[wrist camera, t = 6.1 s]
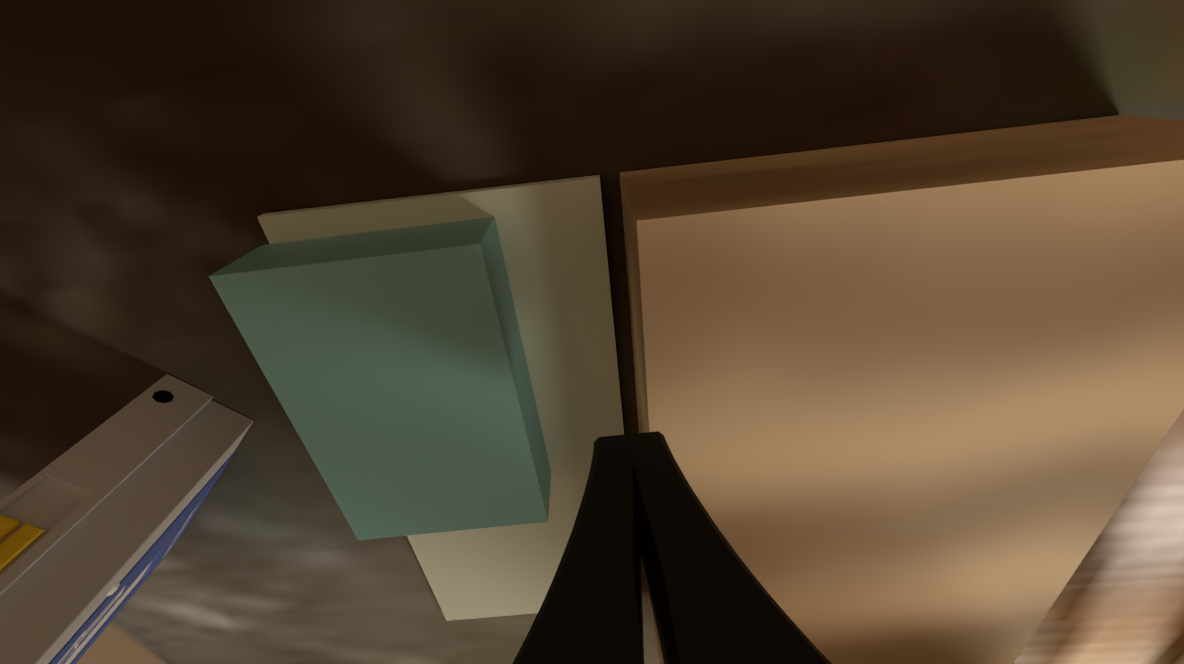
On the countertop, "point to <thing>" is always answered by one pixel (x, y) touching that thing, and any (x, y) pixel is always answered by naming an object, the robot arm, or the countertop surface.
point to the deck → (914, 367)
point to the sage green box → (400, 373)
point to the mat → (554, 358)
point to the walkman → (106, 519)
